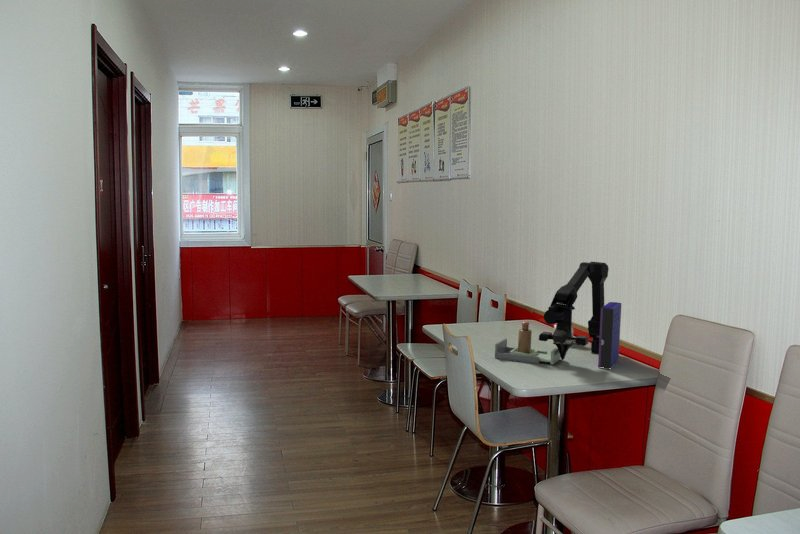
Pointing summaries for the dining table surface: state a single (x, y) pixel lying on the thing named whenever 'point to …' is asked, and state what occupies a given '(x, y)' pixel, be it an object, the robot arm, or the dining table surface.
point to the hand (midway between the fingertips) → (562, 359)
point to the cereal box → (609, 334)
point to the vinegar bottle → (524, 339)
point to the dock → (504, 353)
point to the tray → (541, 355)
